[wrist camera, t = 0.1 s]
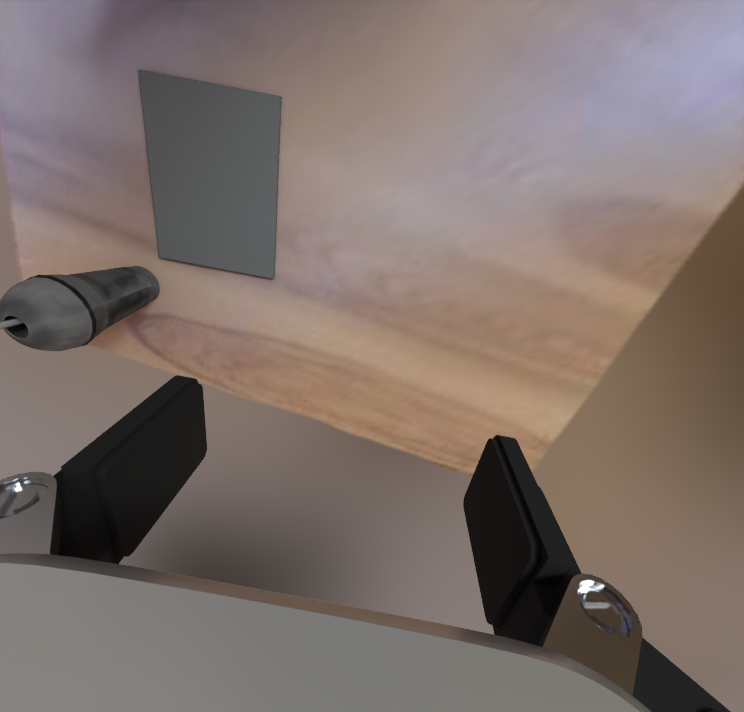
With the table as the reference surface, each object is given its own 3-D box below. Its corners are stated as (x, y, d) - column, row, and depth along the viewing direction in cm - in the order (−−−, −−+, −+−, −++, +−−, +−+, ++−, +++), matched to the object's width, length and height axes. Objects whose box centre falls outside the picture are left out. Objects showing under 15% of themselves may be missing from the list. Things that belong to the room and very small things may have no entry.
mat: (141, 70, 33) (138, 69, 32) (281, 97, 33) (279, 96, 32) (161, 256, 41) (159, 257, 40) (274, 278, 41) (273, 278, 40)
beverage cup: (162, 321, 44) (0, 407, 26) (109, 293, 43) (-99, 363, 25) (176, 274, 41) (4, 334, 23) (119, 243, 40) (-109, 281, 22)
